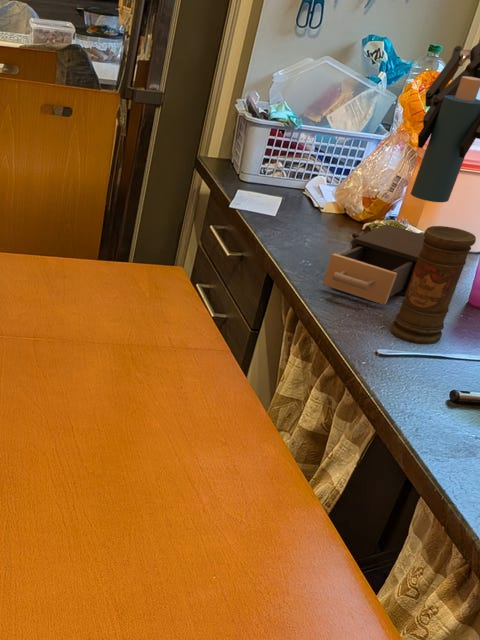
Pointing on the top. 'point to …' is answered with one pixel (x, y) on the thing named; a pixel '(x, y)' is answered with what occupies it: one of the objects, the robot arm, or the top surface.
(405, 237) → the cabinet
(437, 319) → the container
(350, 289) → the drawer
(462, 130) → the bottle
